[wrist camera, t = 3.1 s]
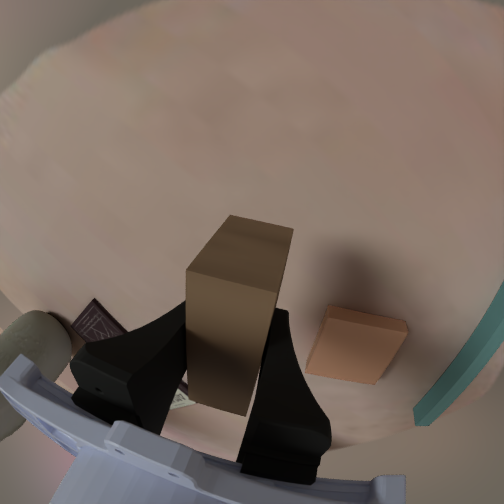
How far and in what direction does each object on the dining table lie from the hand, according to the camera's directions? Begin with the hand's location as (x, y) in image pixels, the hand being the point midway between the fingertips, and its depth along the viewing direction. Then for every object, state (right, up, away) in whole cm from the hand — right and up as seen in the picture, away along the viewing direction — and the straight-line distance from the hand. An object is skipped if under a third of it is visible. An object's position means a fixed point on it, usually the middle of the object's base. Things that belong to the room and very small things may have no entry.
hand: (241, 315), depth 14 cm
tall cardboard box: (0, +1, +1) cm, 2 cm away
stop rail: (+22, -7, +8) cm, 24 cm away
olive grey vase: (-28, -8, +21) cm, 36 cm away
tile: (+10, -5, +10) cm, 15 cm away
